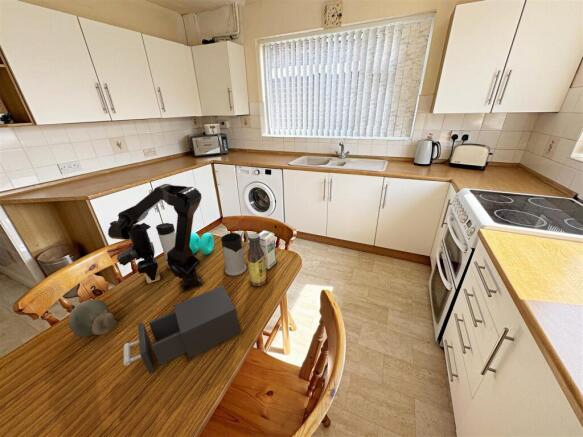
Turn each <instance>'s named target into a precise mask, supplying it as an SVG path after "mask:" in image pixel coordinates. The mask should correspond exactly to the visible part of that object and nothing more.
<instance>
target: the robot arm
mask: <svg viewBox="0 0 583 437" xmlns="http://www.w3.org/2000/svg"><path fill="white" fill-rule="evenodd" d="M201 201H202V193H201V192H200V191H199V190H198V189H197V188H196V187H195V186H185V185H176V184H175V185H173V184H170V183H163V184H161V185H158V186H156V187H155V188H154V189H153V190H152V191H151V192H150V193H149V194H148V195H146V196H145V197H144V198H142V199H141V200H140V201H139V202H137V203H136V204H135V205H133V206H131V207H128V208H126V209H124V210H122V211H120V212H118V214H117V217H118V219H117V220H113V221H111V222H109V225H110V226H109V227H108V230H107V236H108V237H109V238H110V239H112V240H121V241H122V240H123V241H128V240H130V242H131V246H130V247H128V248H126V249H124V250H122V251H121V252H119V253H118V254H117V255H116V260H117V261H118V263H119V265H122V266H124V267H125V266H127V265H128V264H129V263H131V262H132V261H134V260H135V261H138V260H139V261H138V262H137V263H136V270H137V272H138V274H144V273H146V274H147V276H148V277H149V278H150V279H151V280H152V281H153V280H155V277H156V273H157V268H158V269H159V264H158V260H157V258H155V253H156V252H155V251H156V250H155V245H154V242H152V241H151V238H150V236H149V233H148V230H149V229H151V225H150V224H147V223H145V222H142V221H143V220H145V219H146V218H147V216H148V215H149V212H150V211H151V210H152V209H153V208H155V207H156V206H157V205H159V204H160V203H161V202H164V203H166V204H167V205H168V206H171V207H173V210H174V212H175V213H176V215H177V217H176V226H175V228H176V229H175V232H176V238H175V247H173V248H172V249H171V250H170V251H169V252H168V253H167V260H166V259H165V262H167V261H168V264H167V267H168V266H169V267H170V269H169V270H171V272H172V274H173V275H174V277H176V278H178V279H181V280H180V283H181V286H182V290H183V292H186V291H188V290H189V291H190V290H191V289H194V288H197V287H200V286H201V285H202V281H201V278H200V276H199V275H198V271H197V267H198V266H199V265H200V264H201V260H200V259H199V258H198V257H197V256H196V255H195V254H192V250H191V248H190V238H191V233H192V229H193V222H194V215H195V213H196V211H197V210H198V208H199V206H200V204H201ZM140 222H142V223H140ZM140 259H141V260H140Z"/></svg>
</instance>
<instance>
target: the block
mask: <svg viewBox="0 0 583 437" xmlns="http://www.w3.org/2000/svg"><path fill="white" fill-rule="evenodd" d="M143 274H144V277H145V280H146V283H147V284H148V285H149V284H151V283H154V282H157V281H160V280H161V275H160V272H159V267H158V268H157V273H156V277H155V280H153V281H152V280H151V279H150V278H149V277H148V276H147V274H146V273H143Z"/></svg>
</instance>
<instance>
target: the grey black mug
mask: <svg viewBox="0 0 583 437" xmlns="http://www.w3.org/2000/svg"><path fill="white" fill-rule="evenodd" d="M244 234H246V243H245V246H243V236H244ZM248 236H249V233H248V231H242V232H241V234H239V233H238V232H230V233H226V234H223V235H222V236H221V238H220V241H221V249H222V255H223V260H224V265H225V266H224V267H225V269H224V271H225V274H226V275H228V276H239V275H241V274H244V273H245V271H246V270H247V268H248V267H247V265H246V262H245V261H246V260H245V254H246V251H247V249H248V246H249V240H248ZM243 247H244V248H243Z"/></svg>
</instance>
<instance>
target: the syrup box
mask: <svg viewBox="0 0 583 437" xmlns="http://www.w3.org/2000/svg"><path fill="white" fill-rule="evenodd" d="M258 234H259V236H260V246H261V248H262V250H263V252H264V256H265V267H266V270H270V269H271V268H272V267H273V266H274V265H275V264H276V263H278V261H277V259H278V258H277V250H276V249H277V248H276V240H275V233H274V232H271V231H268V230H262V231H260V232H258Z"/></svg>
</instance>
